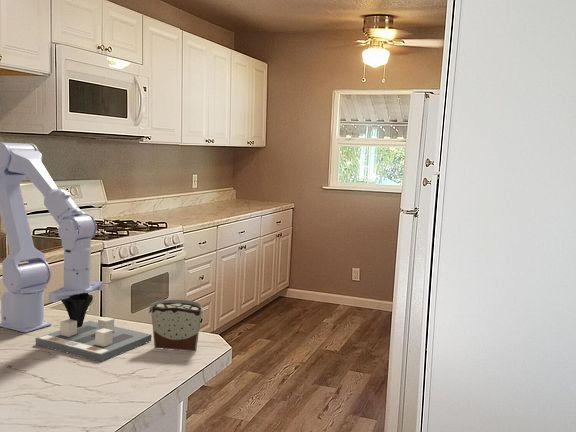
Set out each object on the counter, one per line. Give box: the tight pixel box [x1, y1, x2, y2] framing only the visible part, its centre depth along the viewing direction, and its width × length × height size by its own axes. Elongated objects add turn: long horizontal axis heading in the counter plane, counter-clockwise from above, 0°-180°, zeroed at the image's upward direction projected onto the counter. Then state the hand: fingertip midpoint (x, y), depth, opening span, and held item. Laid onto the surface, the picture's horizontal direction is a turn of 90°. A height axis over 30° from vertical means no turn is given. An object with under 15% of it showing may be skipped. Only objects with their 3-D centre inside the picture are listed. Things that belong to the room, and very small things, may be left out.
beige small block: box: [59, 318, 77, 337], centre depth 133 cm, size 2×2×3 cm
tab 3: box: [95, 328, 113, 347], centre depth 128 cm, size 2×2×3 cm
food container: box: [148, 299, 205, 353], centre depth 134 cm, size 12×6×10 cm, turn 84°
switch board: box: [35, 320, 153, 363], centre depth 133 cm, size 19×16×2 cm
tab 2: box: [97, 316, 115, 332], centre depth 136 cm, size 2×2×3 cm
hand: (76, 326), depth 135 cm, fingers closed
